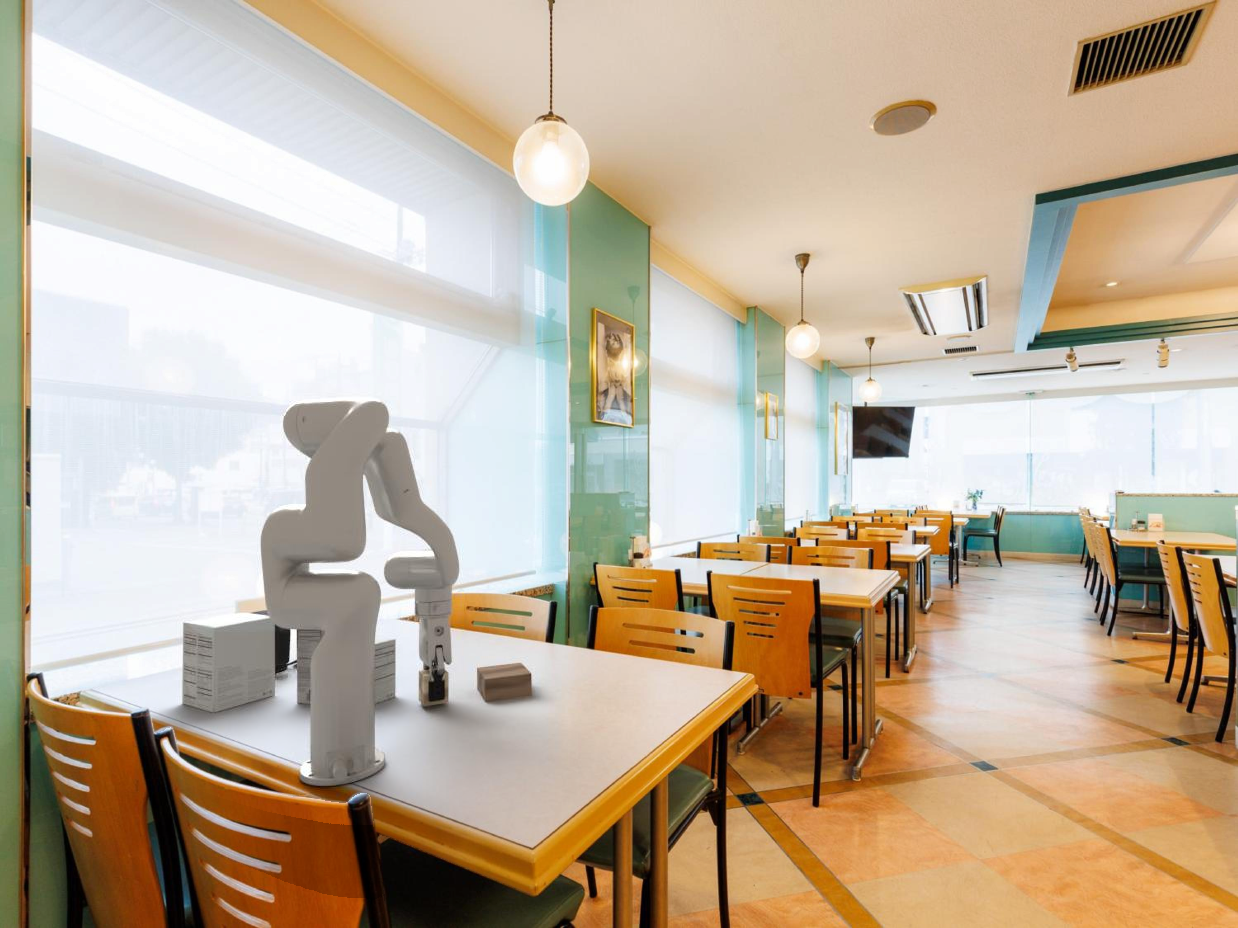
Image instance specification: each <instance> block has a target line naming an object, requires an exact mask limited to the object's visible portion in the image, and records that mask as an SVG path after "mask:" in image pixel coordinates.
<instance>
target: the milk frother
mask: <svg viewBox="0 0 1238 928" xmlns="http://www.w3.org/2000/svg"><path fill="white" fill-rule="evenodd" d="M250 613H251V614H259V615H266V616H269V615H268V612H267V609H265V610H259V611H253V612H250ZM291 630H292V629H285V628H281V627H279V626H277V625H275V673H278V672H282V671H284V670H286V669H287V668H288V666H292V665H295V664H297V659H295V660H293V661H291V660H290V658H291V654H290V651H291V636H292V635H291V633H292V632H291ZM290 661H291V662H290Z"/></svg>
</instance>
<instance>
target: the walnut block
mask: <svg viewBox="0 0 1238 928" xmlns="http://www.w3.org/2000/svg"><path fill="white" fill-rule="evenodd" d="M532 680H533V679H532V673H531V672H530V670H529V669H528V668H527V667H526V666H525V665H524V664H523V663H522V662H514V663H506V664H498V665H496V664H495V665H489V666H482V667H481V666H480V667H476V690H477V691H478V693H479V695H480V697H481V698H482V700H483V701H484V703H490V702H495V701H496V702H497V701H504V700H509V699H510V700H511V699H516V698H517V699H518V698H525V697H532V695H533V693H532V692H533V690H532V689H533V686H532V685H533V684H532V683H533V682H532Z"/></svg>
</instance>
